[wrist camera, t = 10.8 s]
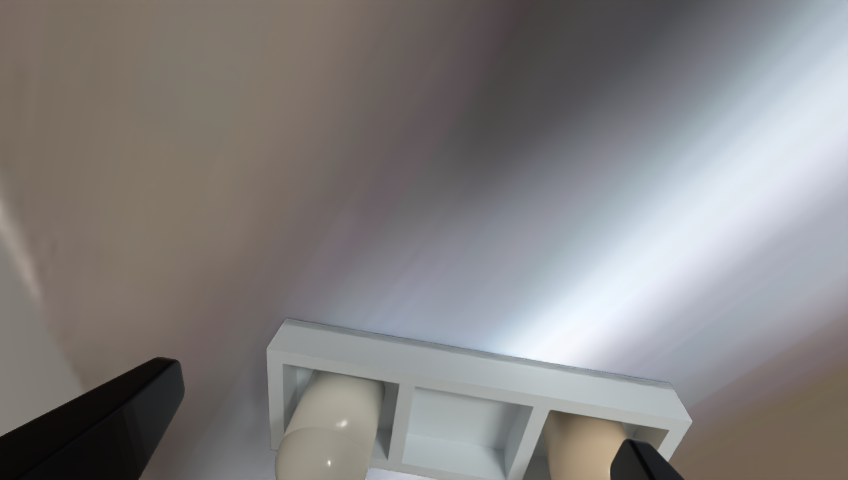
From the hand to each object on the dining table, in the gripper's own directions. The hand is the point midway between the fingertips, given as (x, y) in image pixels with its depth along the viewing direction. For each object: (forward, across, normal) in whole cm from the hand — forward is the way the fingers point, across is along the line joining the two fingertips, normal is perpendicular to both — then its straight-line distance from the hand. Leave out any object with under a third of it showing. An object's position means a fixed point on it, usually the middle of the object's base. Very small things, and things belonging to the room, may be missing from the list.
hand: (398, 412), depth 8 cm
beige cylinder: (+12, -10, +12) cm, 20 cm away
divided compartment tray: (+12, -4, +12) cm, 17 cm away
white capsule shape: (+12, +3, +12) cm, 17 cm away
